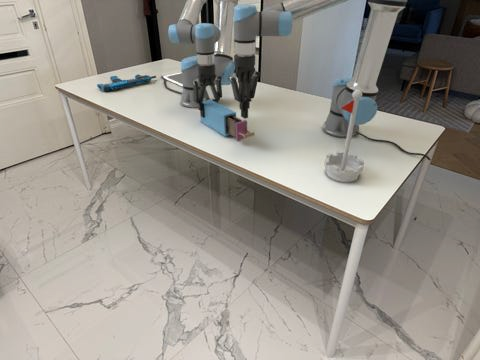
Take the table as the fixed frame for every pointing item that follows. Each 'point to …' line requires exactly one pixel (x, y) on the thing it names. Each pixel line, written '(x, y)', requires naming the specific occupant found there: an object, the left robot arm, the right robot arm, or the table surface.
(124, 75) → the table surface
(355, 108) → the flag stand
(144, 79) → the submachine gun
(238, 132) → the drawer
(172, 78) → the tablet
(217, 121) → the cabinet
